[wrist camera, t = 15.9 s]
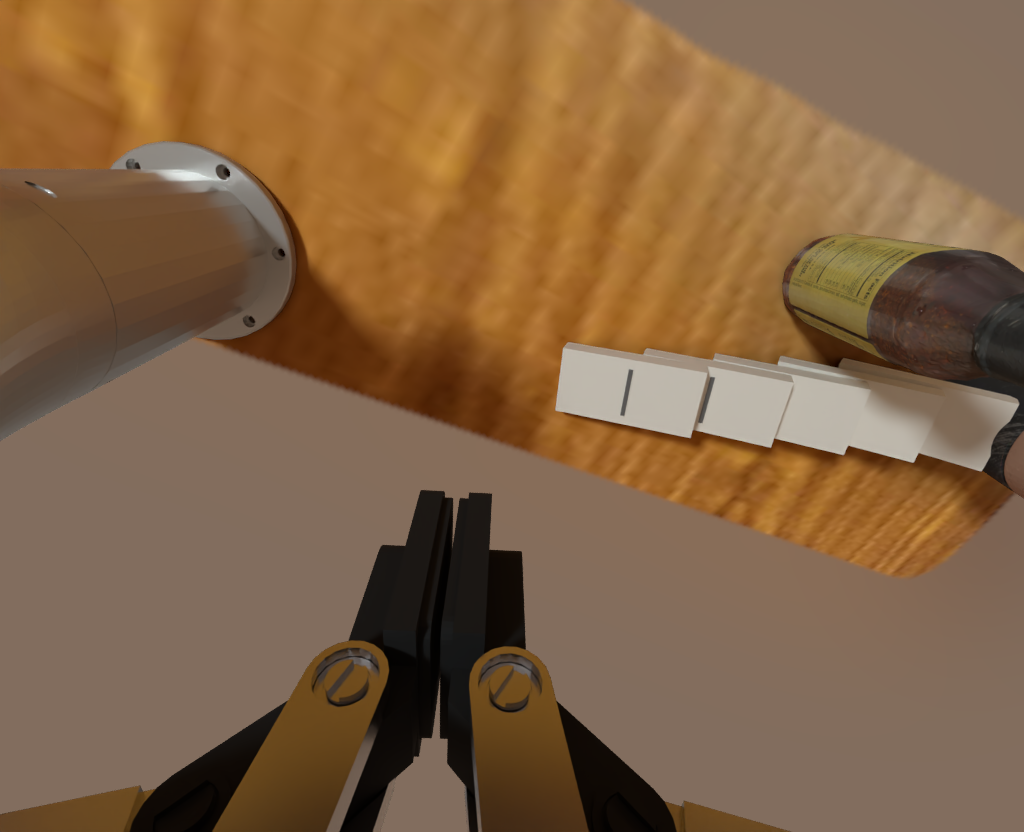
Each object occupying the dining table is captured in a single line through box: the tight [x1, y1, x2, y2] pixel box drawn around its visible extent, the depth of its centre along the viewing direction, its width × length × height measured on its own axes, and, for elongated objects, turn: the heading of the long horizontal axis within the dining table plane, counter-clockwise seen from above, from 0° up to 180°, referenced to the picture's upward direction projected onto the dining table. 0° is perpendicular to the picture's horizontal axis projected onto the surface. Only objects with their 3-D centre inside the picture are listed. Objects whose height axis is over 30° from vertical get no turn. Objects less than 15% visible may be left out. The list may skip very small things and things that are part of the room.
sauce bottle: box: [783, 234, 1024, 388], centre depth 27 cm, size 7×6×20 cm
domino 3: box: [713, 353, 871, 455], centre depth 37 cm, size 2×5×10 cm
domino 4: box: [778, 356, 946, 463], centre depth 36 cm, size 2×5×10 cm
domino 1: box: [555, 342, 708, 438], centre depth 37 cm, size 2×5×10 cm
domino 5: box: [838, 358, 1019, 472], centre depth 36 cm, size 2×5×10 cm
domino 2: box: [643, 348, 794, 448], centre depth 37 cm, size 2×5×10 cm
